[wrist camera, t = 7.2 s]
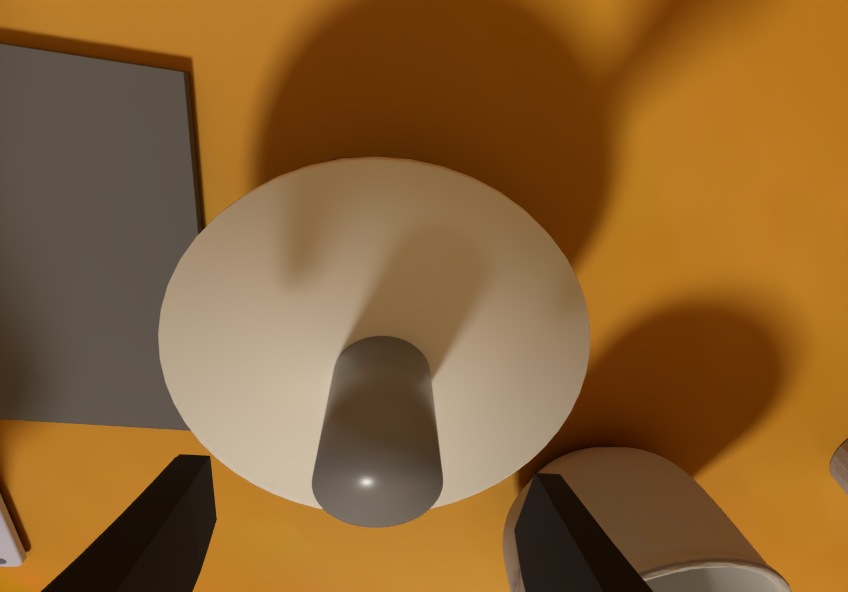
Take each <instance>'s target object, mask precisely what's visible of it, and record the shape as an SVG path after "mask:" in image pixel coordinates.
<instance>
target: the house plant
mask: <svg viewBox="0 0 848 592" xmlns="http://www.w3.org/2000/svg"><path fill="white" fill-rule="evenodd" d="M830 472H831V474H832V476H833V478H834V479H835V480H836V481H837V483H838V484H839V485H840V486H841V488H842V489H843V490H844V491H845V493H846V494H847V495H848V439H847V440H846V441H845V442H844V443H843V444H842V445H841V446H840V447H839V448H838V450H837V451H836V452H835V454H834V455H833V458H832V460H831V463H830Z"/></svg>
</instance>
